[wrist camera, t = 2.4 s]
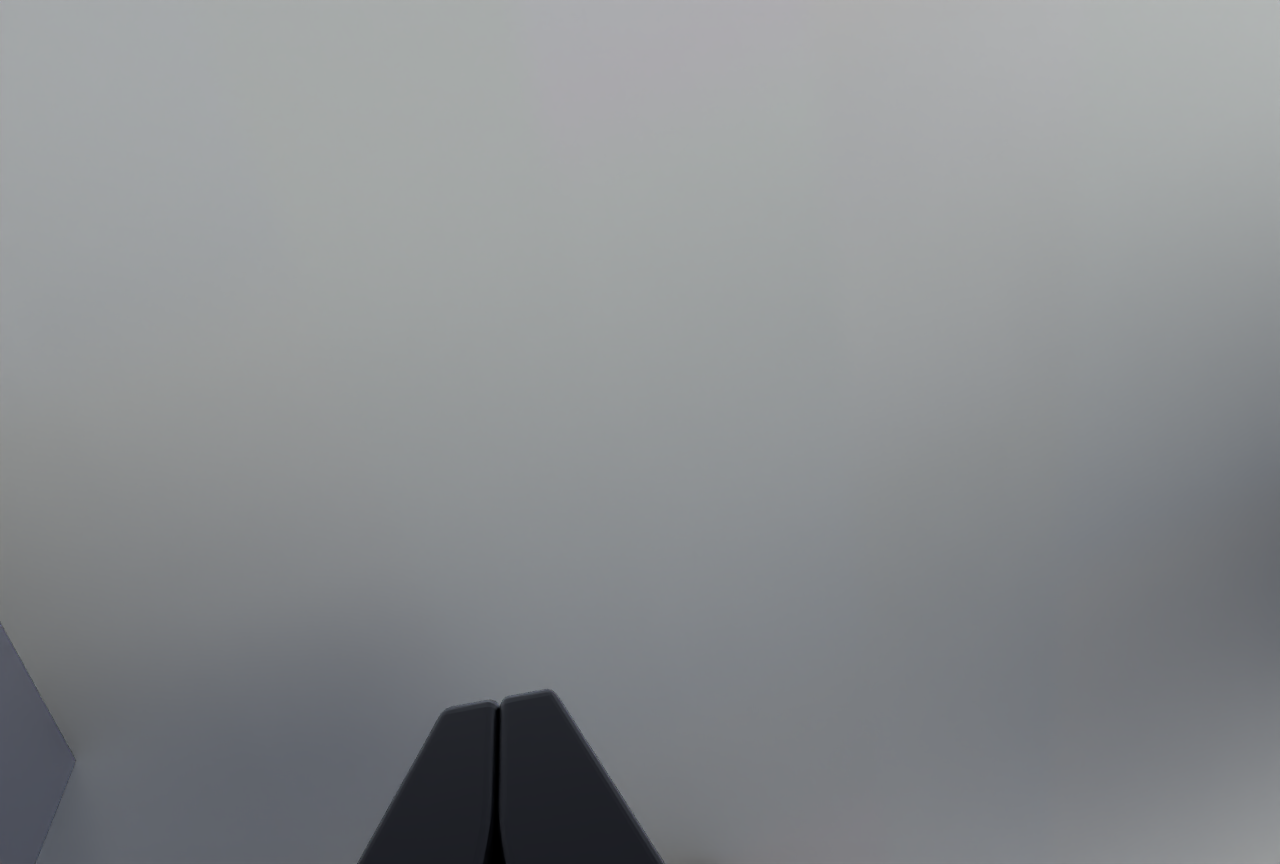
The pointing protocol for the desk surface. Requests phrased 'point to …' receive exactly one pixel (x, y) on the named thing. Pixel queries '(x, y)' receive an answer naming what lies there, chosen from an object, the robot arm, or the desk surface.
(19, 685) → the die
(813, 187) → the desk surface
